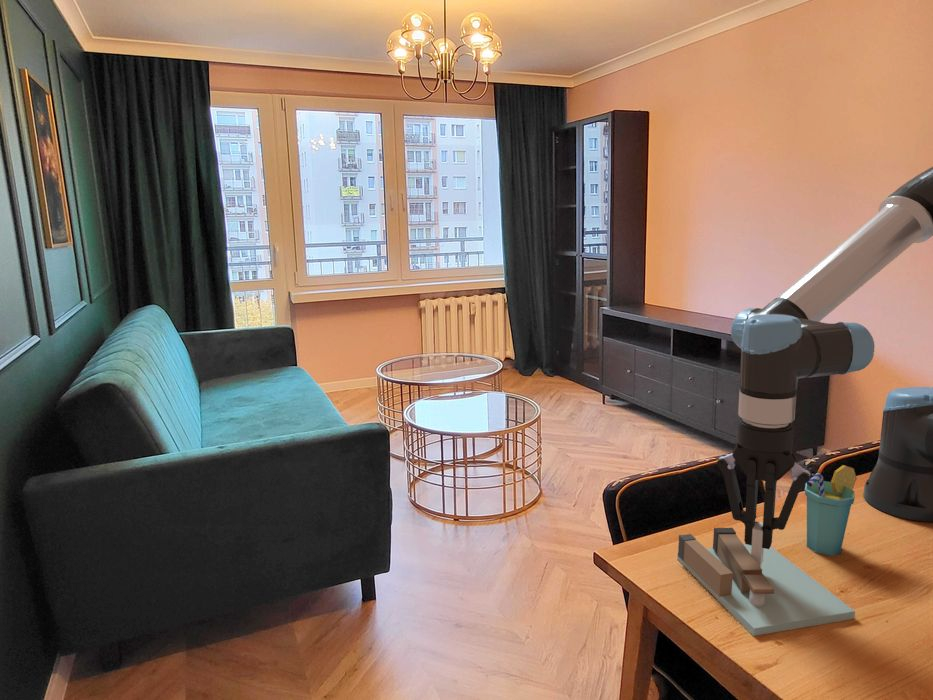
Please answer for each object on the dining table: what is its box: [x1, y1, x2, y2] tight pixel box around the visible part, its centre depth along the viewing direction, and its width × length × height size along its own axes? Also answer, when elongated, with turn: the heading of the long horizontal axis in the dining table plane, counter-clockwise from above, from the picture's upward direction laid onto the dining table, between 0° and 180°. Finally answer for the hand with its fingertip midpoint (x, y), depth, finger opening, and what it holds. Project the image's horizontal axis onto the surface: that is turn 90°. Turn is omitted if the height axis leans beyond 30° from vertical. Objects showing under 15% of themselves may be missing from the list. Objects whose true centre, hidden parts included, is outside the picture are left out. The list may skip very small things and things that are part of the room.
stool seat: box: [676, 533, 856, 637], centre depth 96 cm, size 16×20×5 cm
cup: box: [804, 464, 857, 557], centre depth 105 cm, size 14×8×15 cm, turn 127°
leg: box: [712, 527, 774, 594], centre depth 97 cm, size 16×3×4 cm, turn 177°
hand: (756, 564), depth 98 cm, fingers closed
